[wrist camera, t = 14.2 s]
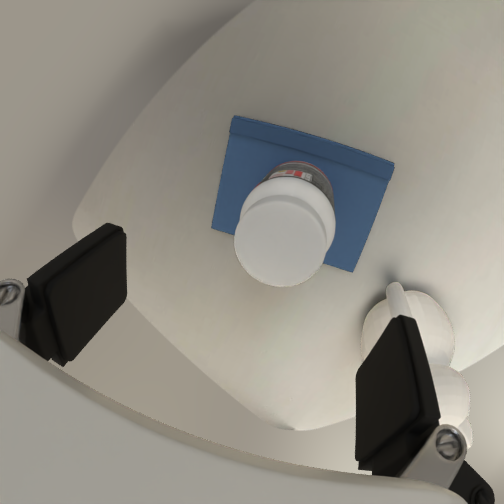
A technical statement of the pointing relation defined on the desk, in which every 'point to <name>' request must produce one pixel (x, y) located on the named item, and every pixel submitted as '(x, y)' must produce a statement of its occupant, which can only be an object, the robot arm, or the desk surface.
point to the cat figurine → (426, 349)
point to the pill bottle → (286, 225)
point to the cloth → (318, 154)
